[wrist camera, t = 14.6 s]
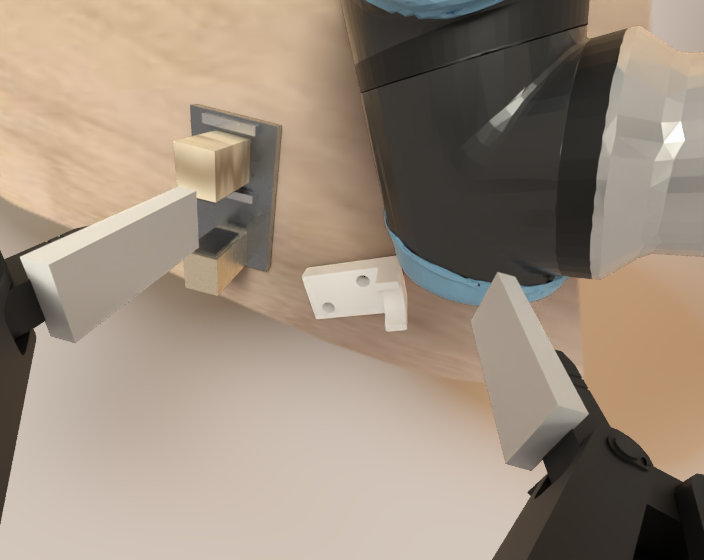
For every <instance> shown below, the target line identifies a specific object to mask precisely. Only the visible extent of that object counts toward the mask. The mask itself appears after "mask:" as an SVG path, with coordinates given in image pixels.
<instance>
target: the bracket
mask: <svg viewBox="0 0 704 560" xmlns="http://www.w3.org/2000/svg"><path fill="white" fill-rule="evenodd" d="M361 275H364V276H366V277H363V276H361ZM302 280H303V283H304V286H305V288H306V291H307V294H308V297H309V300H310V303H311V306H312V309H313V312H314V314H315V317H316V319H326V318H337V317H347V316H358V315H368V314H379V313H385V329H386V332H389V331H401V330H407V292H406V286H405V281H404V276H403V272H402V267H401V265H400V263H399V261H398V259H397V256H389V257H382V258H375V259H367V260H360V261H353V262H345V263H338V264H331V265H323V266H316V267H309V268H306V270H305V272H304V274H303V275H302Z"/></svg>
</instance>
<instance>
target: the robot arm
mask: <svg viewBox="0 0 704 560" xmlns="http://www.w3.org/2000/svg"><path fill="white" fill-rule="evenodd" d="M341 5H342V9H343V14H344V19H345V23H346V28H347V32H348V37H349V42H350V46H351V51H352V55H353V60H354V65H355V68H356V73H357V78H358V82H359V87H360V93H361V94H360V96H361V101H362V106H363V110H364V115H365V120H366V124H367V129H368V134H369V138H370V143H371V147H372V152H373V157H374V161H375V166H376V171H377V175H378V180H379V185H380V189H381V194H382V198H383V203H384V222H385V226H386V227H387V229H388V233H389V235H390V236H391V238H392V241H393V244H394V248H395V252H396V256H397V259H398V261H399V263H400V265H401V267H402V269H403V270H404V272H405V273H406V274H407V275H408V277H409V278H410V279H411V280H413V281H414V282H415V283H416V284H417V285H419V286H420V287H422V288H423V289H425V290H427V291H428V292H430V293H432V294H435V295H437V296H440V297H442V298H445V299H447V300H451V301H454V302H458V303H463V304H468V305H475V306H479V307H478V309H477V311H476V312H475V314H474V316H473V318H472V320H471V326H472V330H473V334H474V338H475V342H476V346H477V350H478V354H479V358H480V362H481V366H482V370H483V374H484V378H485V382H486V386H487V390H488V394H489V398H490V402H491V407H492V410H493V414H494V419H495V422H496V426H497V431H498V435H499V439H500V443H501V447H502V451H503V455H504V459H505V463H506V464H509V465H512V466H516V467H519V468H523V469H527V470H530V471H532V470H533V469H534V468H535V467H536V466H537V465H538V464H539V463H540V462H541V461H542V460H543V461H544V464H545V467H546V469H547V473H548V474H547V475H545V476H544V477H543V478H542V479H541V480H540V481H539V482H538V483H537V484H536V485H535V486H534V487H533V488H532V489H530V490H529V491H528V494H529V495H530V496H531V497H530V499H529V500H528V502H527V504H526V505H525V507H524V508H523V510H522V512H521V513H520V515H519V517H518V518H517V520H516V522H515V523H514V525H513V526H512V528H511V530H510V531H509V533H508V535H507V536H506V538H505V540H504V541H503V543H502V544H501V546H500V548H499V549H498V551H497V553H496V554H495V556H494V557H493V559H492V560H704V475H702V474H695V475H694V476H692V477H690V478H689V479H687V480H686V481H684V482H682V481H680V480H678V479H676V478H674V477H672V476H670V475H668V474H667V473H665V472H663V471H661V470H659V469H657V468H655V467H654V466H653V464H652V462H651V460H650V458H649V456H648V455H647V454H646V453H645V451H644V450H643V449H642V448H641V447H640V446H639V445H638V444H637V443H636V442H635V441H634V440H632V439H631V438H630V437H629V436H627V435H625V434H624V433H622V432H620V431H619V430H617V429H614V428H611V427H610V425H609V424H608V422H607V420H606V418H605V416H604V415H603V413H602V411H601V410H600V408H599V406H598V404H597V403H596V401H595V399H594V398H593V396H592V394H591V392H590V391H589V390H587V389H588V387H587V385H586V384H585V382H584V380H582V379H581V378H582V377H581V375H580V373H579V371H578V370H577V368H576V366H575V365H574V363H573V362H572V361H571V360H570V359H569V358H568V357H567V356H566V355H565V354H564V353H563V352H562V351H558V350H554V348H553V346H552V344H551V342H550V340H549V339H548V337H547V335H546V333H545V331H544V329H543V327H542V326H541V324H540V322H539V320H538V318H537V316H536V314H535V312H534V311H533V309H532V307H531V305H530V303H529V302H533V301H537V300H540V299H542V298H544V297H546V296H548V295H550V294H552V293H553V292H555V291H556V290H557V289H558V288H560V287H561V286H562V284H563V283H564V282H565V280H567V279H568V277H577V278H587V279H599V280H601V279H602V278H604V277H606V276H608V275H609V274H611V273H613V272H614V271H616V270H618V269H620V268H621V267H623V266H625V265H627V264H628V263H630V262H631V261H634V260H635V259H637V258H640V257H643V256H646V255H649V254H668V255H685V256H701V257H704V51H703V52H698V53H695V52H678V51H677V50H675V49H674V48H672V47H671V46H669V45H668V44H666V43H665V42H663V41H662V40H661V39H659V38H658V37H656V36H655V35H653V34H652V33H650V32H649V31H647V30H646V29H644V28H643V27H641V26H634V27H629V28H627V29H624V30H620V31H617V32H613V33H609V34H606V35H602V36H599V37H595V38H590V39H589V38H587V37H586V35H587V25H588V12H589V0H341ZM198 248H199V238H198V216H197V194H196V191H195V190H192V189H188V188H184V187H180V186H178V187H176V188H174V189H172V190H169V191H167V192H165V193H163V194H160V195H158V196H156V197H154V198H151V199H149V200H147V201H145V202H142V203H140V204H138V205H135V206H133V207H131V208H129V209H126V210H124V211H122V212H120V213H117V214H115V215H113V216H111V217H108V218H106V219H104V220H102V221H99V222H97V223H95V224H93V225H90V226H85V227H81V228H76V229H73V230H71V231H69V232H66V233H64V234H62V235H60V237H55V238H53V239H50V240H49V241H48V242H44V243H41V244H39V245H36V246H34V247H32V248H30V249H27V250H25V251H23V252H20V253H18V254H16V255H14V256H11V257H9V258H6V259H4V258H3V256H2V253H1V251H0V523H1V517H2V512H3V507H4V502H5V497H6V491H7V487H8V482H9V476H10V471H11V466H12V461H13V456H14V451H15V446H16V440H17V435H18V430H19V425H20V420H21V415H22V410H23V404H24V399H25V394H26V389H27V384H28V379H29V374H30V369H31V364H32V358H33V353H34V348H35V343H36V334H35V331H34V329H33V328H35V327H36V326H38V325H40V324H41V323H43V322H44V321H45V323H46V325H47V328H48V330H49V333H50V336H52V337H55V338H59V339H63V340H66V341H70V342H73V343H76V342H77V341H79V340H80V339H81V338H82V337H84V336H85V335H86V334H88V333H89V332H90V331H91V330H93V329H94V328H95V327H97V326H98V325H99V324H101V323H102V322H103V321H104V320H106V319H107V318H108V317H110V316H111V315H112V314H113V313H115V312H116V311H117V310H119V309H120V308H121V307H122V306H124V305H125V304H126V303H128V302H129V301H130V300H132V299H133V298H134V297H135V296H137V295H138V294H139V293H141V292H142V291H143V290H145V289H146V288H147V287H148V286H150V285H151V284H152V283H154V282H155V281H156V280H157V279H159V278H160V277H161V276H162V275H164V274H165V273H167V272H168V271H169V270H170V269H172V268H173V267H174V266H176V265H177V264H178V263H179V262H181V261H182V260H183V259H185V258H186V257H187V256H189V255H190V254H191V253H192V252H194V251H195V250H196V249H198Z"/></svg>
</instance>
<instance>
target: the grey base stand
mask: <svg viewBox="0 0 704 560" xmlns="http://www.w3.org/2000/svg"><path fill="white" fill-rule="evenodd" d="M190 112H191V129H192V136H195V135H199V134H203V133H207V132H211V131H215V130H218V131H222V132H226V133H230V134H234V135H238V136H242V137H245V138H249V139H251V143H250V171H249V183H247V184H245V185H244V186H242V187H241V188H240V189H238V190H236V191H235V192H233V193H232V194H230V195H228V196H227V197H225V198H223V199H222V200H220V201H219V202H217V203H215V204H213V203H209V202H205V201H201V200H197V216H198V238H199V248H198V249H196V250H195V251H194V252H192V253H191V254H190V255H189V256H187V257H186V258H185V259H183V263H184V274H185V286H186V288H190V289H193V290H197V291H201V292H205V293H209V294H212V295H216V296H218V295H219V294H220V293H221V292H222V291H223V289H224V288H225V287H226V286H227V285H228V284H229V283H230V282H231V281H232V279H233V278H234V277H235V276H236V275H237V274H238V273H239V272H240V271H241V270H242V268H243V267H244V266H247V267H251V268H255V269H259V270H262V271H266V272H267V270H268V269H269V268H270V265H271V253H272V241H273V229H274V217H275V204H276V192H277V180H278V168H279V156H280V144H281V132H282V125H278V124H274V123H271V122H267V121H263V120H259V119H255V118H251V117H247V116H243V115H239V114H235V113H231V112H227V111H223V110H219V109H215V108H211V107H207V106H203V105H199V104H194V105H190Z"/></svg>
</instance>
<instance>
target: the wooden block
mask: <svg viewBox="0 0 704 560" xmlns="http://www.w3.org/2000/svg"><path fill="white" fill-rule="evenodd" d="M250 143H251V139H249V138H245V137H242V136H238V135H234V134H230V133H226V132H222V131H218V130H215V131H211V132H207V133H203V134H199V135H195V136H191V137H187V138H182V139H178V140H174V141H173V145H174V156H175V168H176V180H177V187H178V186H180V187H184V188H188V189H192V190H195V191H196V194H197V200H201V201H205V202H209V203H213V204H215V203H217V202H219V201H220V200H222V199H223V198H225V197H227V196H228V195H230V194H232V193H233V192H235V191H236V190H238V189H240V188H241V187H242V186H244V185H245V184H247V183H249V171H250Z"/></svg>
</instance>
